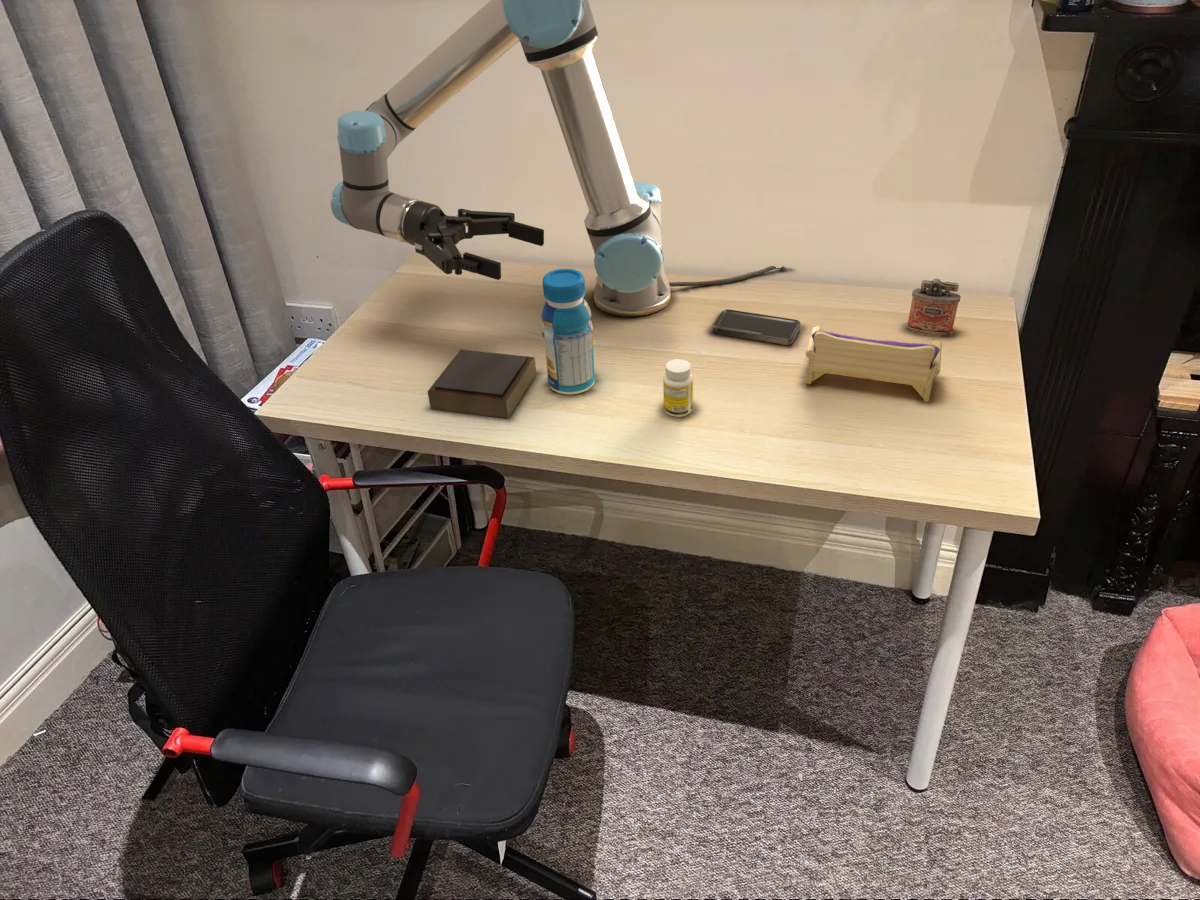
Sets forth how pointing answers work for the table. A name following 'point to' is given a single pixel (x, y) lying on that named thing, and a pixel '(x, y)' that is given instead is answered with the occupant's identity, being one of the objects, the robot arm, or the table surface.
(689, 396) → the supplement bottle
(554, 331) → the beverage bottle
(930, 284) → the lighter
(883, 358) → the toy sofa
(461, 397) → the walnut stand
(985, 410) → the table surface
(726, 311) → the phone
